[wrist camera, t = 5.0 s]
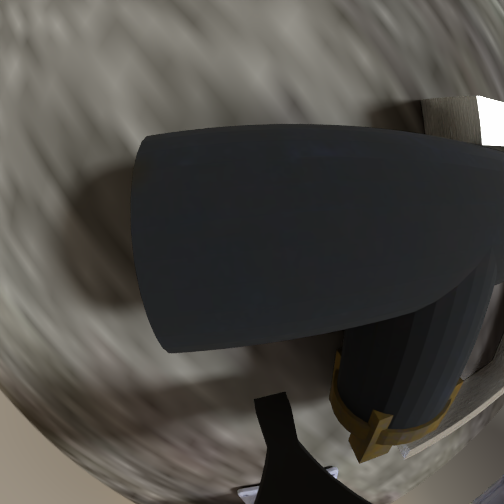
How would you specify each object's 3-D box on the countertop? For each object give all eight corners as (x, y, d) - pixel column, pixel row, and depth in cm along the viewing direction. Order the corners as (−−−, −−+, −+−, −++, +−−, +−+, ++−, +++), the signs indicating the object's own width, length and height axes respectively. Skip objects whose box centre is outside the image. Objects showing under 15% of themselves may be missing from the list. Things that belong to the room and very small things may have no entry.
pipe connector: (508, 392, 9) (221, 505, 7) (458, 344, 14) (212, 407, 12) (574, 171, 5) (110, 124, 3) (492, 153, 10) (168, 141, 8)
